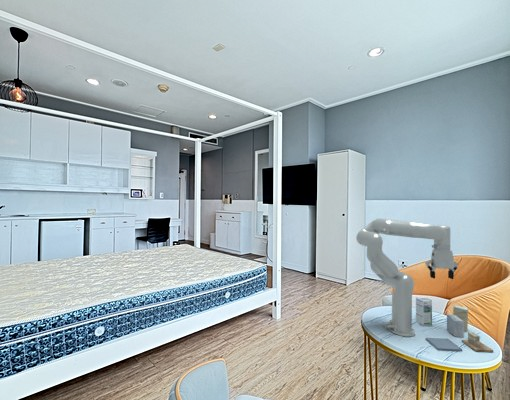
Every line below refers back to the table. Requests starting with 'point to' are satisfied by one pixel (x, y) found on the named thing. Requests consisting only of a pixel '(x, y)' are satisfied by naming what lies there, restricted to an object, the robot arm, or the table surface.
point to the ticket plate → (443, 344)
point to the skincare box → (461, 315)
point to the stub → (476, 343)
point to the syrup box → (424, 311)
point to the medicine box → (455, 326)
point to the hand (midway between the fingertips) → (441, 278)
